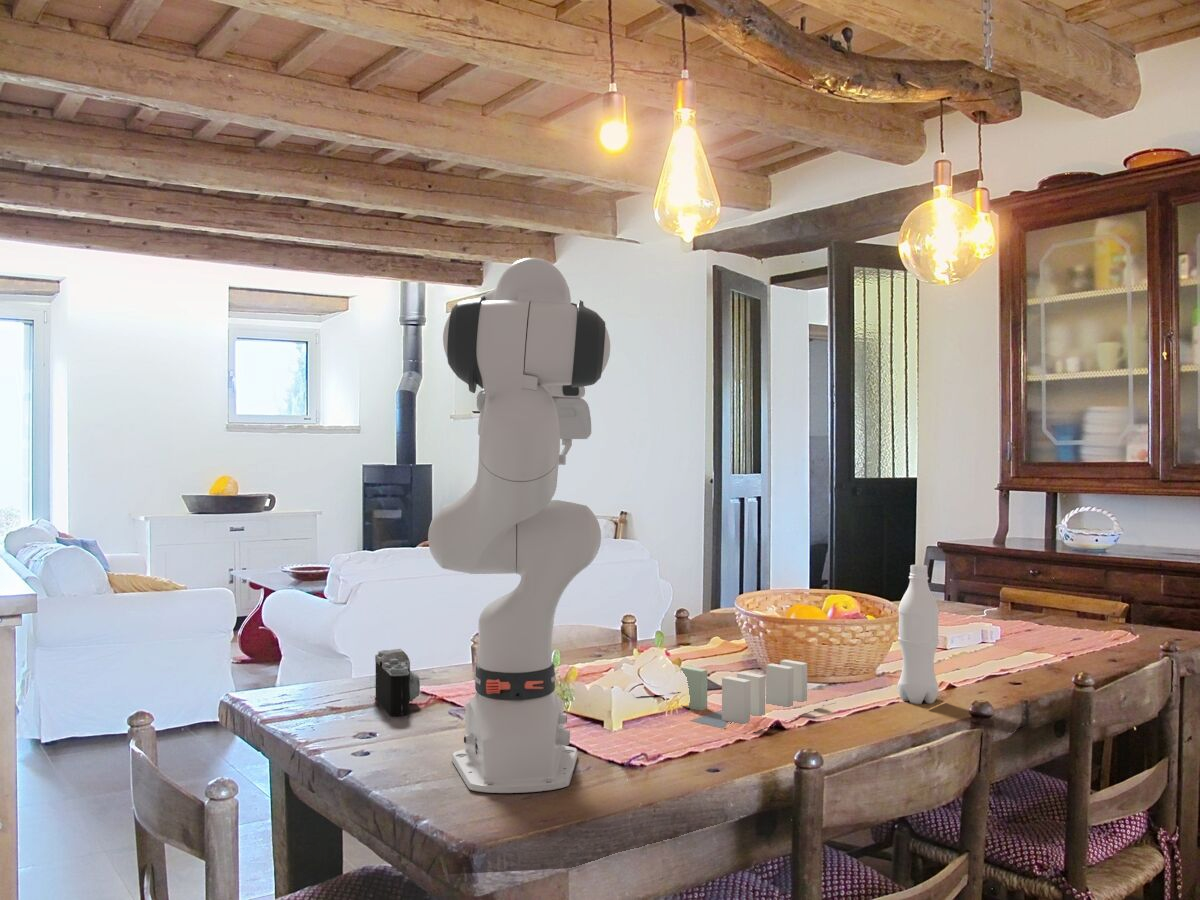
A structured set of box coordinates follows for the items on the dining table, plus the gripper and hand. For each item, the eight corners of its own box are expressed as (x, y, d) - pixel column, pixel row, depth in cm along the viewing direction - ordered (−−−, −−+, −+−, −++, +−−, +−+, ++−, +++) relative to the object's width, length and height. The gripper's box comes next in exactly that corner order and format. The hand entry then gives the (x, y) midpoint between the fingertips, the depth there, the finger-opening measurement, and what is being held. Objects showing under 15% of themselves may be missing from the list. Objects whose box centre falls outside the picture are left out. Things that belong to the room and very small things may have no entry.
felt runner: (748, 736, 169) (748, 734, 169) (689, 722, 177) (689, 720, 177) (836, 703, 189) (836, 702, 189) (780, 692, 198) (780, 690, 198)
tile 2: (759, 719, 178) (759, 677, 178) (736, 714, 181) (737, 673, 181) (765, 717, 179) (765, 675, 179) (742, 712, 182) (743, 671, 182)
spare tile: (701, 712, 184) (701, 671, 183) (680, 707, 187) (680, 667, 187) (707, 710, 185) (707, 669, 185) (686, 705, 188) (686, 665, 188)
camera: (428, 714, 182) (428, 657, 182) (390, 718, 179) (390, 661, 179) (408, 695, 195) (408, 642, 195) (372, 698, 192) (372, 644, 192)
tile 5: (801, 704, 188) (801, 664, 187) (780, 700, 191) (780, 660, 191) (807, 702, 189) (807, 663, 189) (785, 698, 192) (785, 659, 192)
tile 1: (744, 725, 174) (744, 682, 174) (721, 719, 177) (722, 677, 177) (750, 722, 176) (750, 680, 176) (728, 717, 179) (728, 676, 179)
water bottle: (940, 699, 193) (941, 564, 192) (935, 708, 186) (936, 569, 186) (900, 694, 196) (901, 562, 196) (894, 703, 189) (895, 566, 189)
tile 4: (787, 709, 184) (788, 668, 184) (766, 704, 187) (766, 664, 187) (793, 707, 186) (793, 667, 185) (771, 702, 189) (771, 663, 189)
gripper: (479, 386, 181) (479, 465, 181) (593, 387, 186) (593, 465, 186) (474, 387, 187) (474, 464, 187) (585, 389, 192) (585, 464, 192)
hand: (534, 464), depth 186 cm, fingers open, 8 cm apart
